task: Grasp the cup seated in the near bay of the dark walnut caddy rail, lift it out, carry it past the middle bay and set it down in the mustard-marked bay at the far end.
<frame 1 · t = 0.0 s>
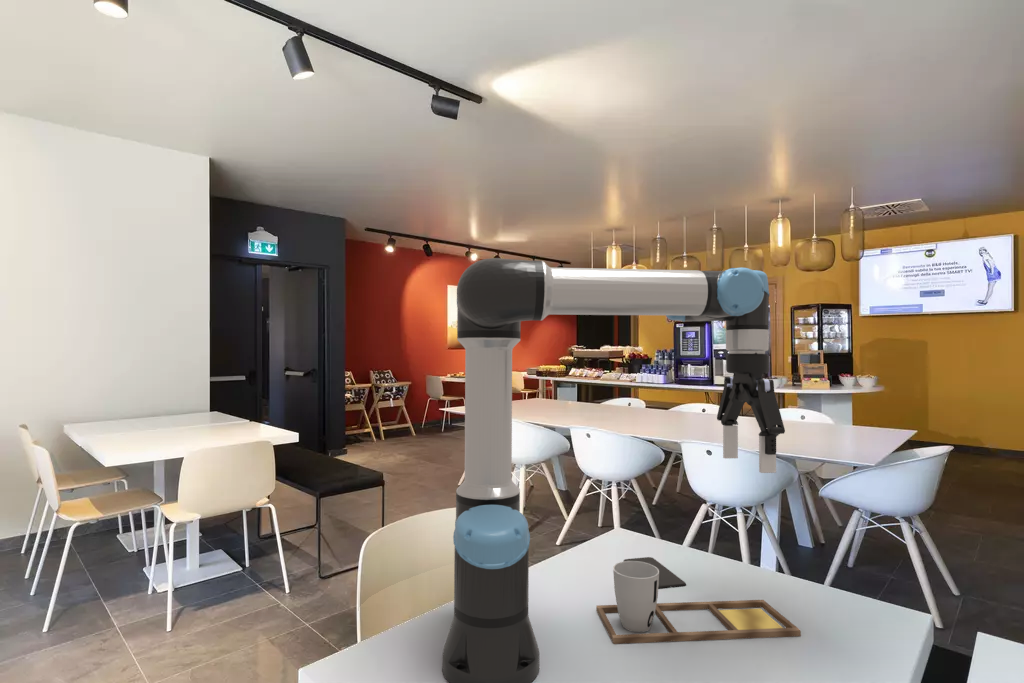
hand: (747, 465, 104), 28 cm above the table, fingers open, 13 cm apart
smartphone: (653, 575, 123), on the table
cup: (635, 626, 99), resting in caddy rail
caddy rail: (693, 622, 100), on the table
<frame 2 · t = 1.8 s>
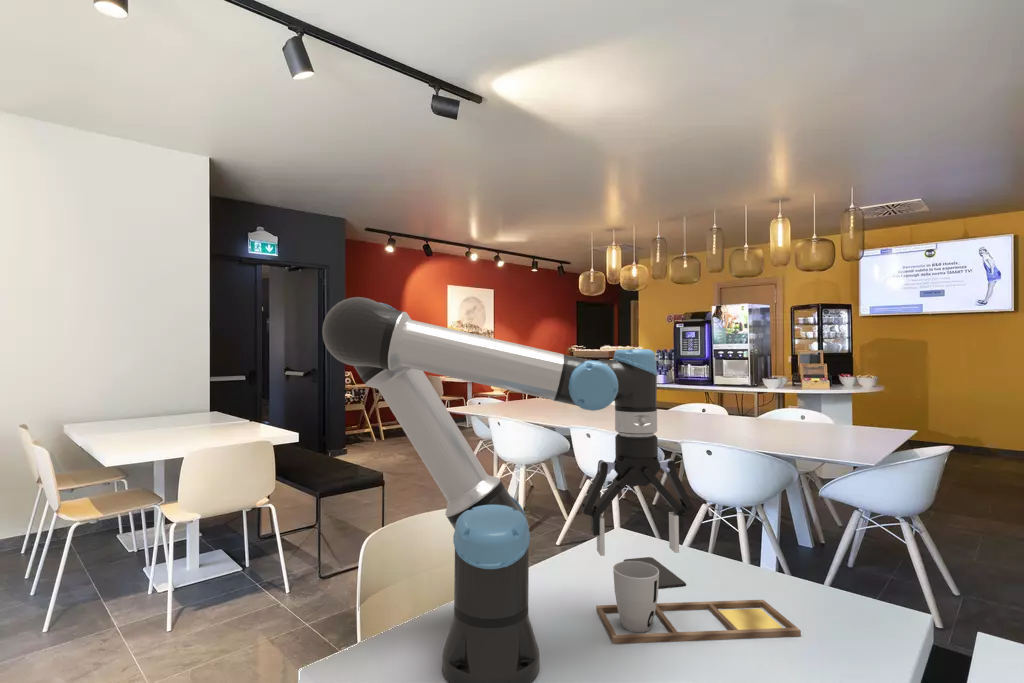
hand: (637, 551, 99), 13 cm above the table, fingers open, 13 cm apart
nothing on the table moved.
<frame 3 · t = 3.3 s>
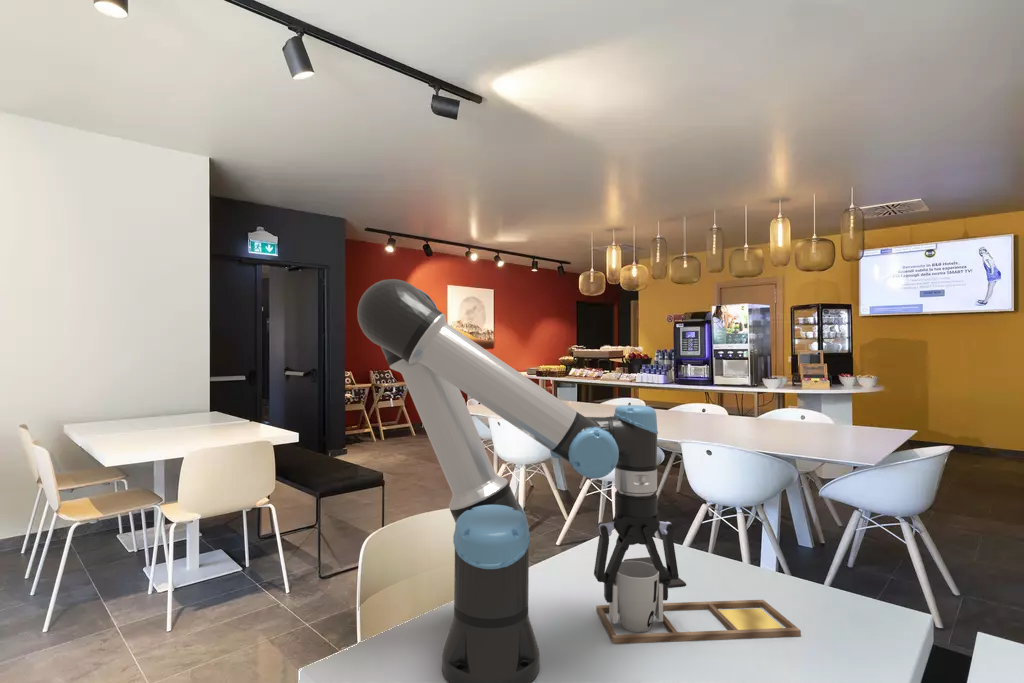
hand: (636, 618, 99), 1 cm above the table, fingers closed on cup, 8 cm apart
cup: (635, 626, 99), resting in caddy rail, touching gripper
everything else where it was.
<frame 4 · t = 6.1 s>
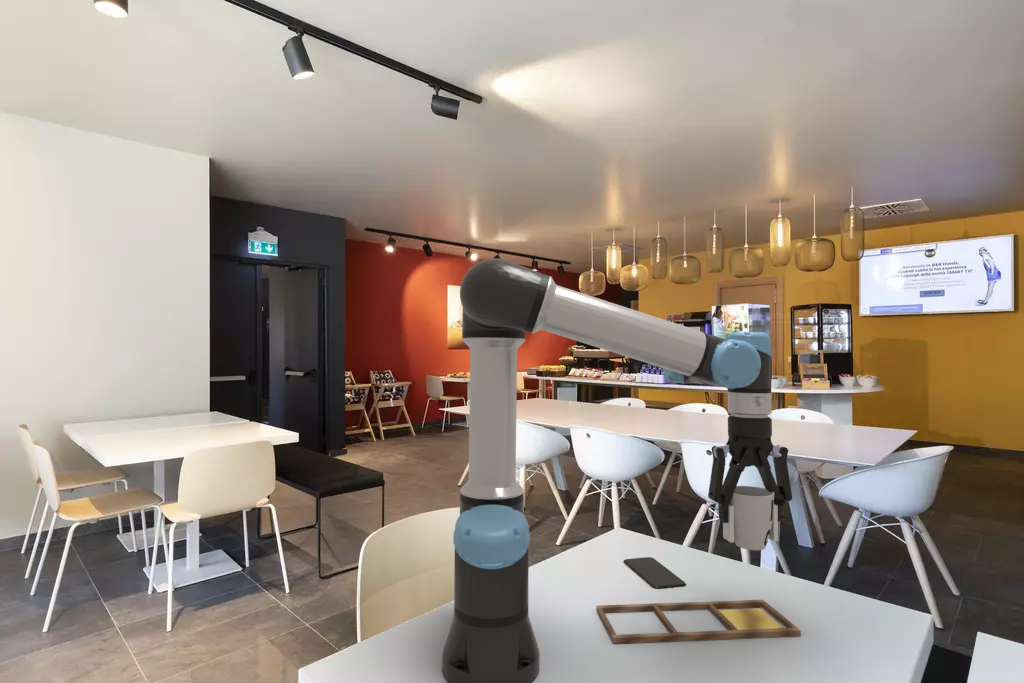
hand: (750, 539, 101), 15 cm above the table, fingers closed on cup, 8 cm apart
cup: (750, 546, 101), point 14 cm above the table, touching gripper
everything else where it was.
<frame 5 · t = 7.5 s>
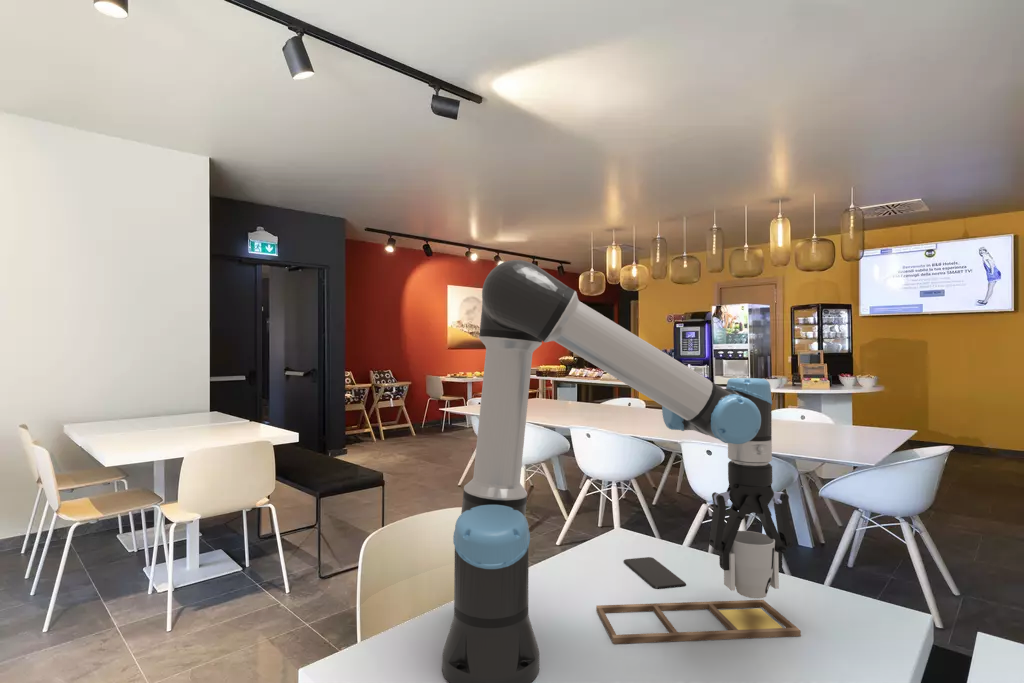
hand: (751, 586, 101), 6 cm above the table, fingers closed on cup, 8 cm apart
cup: (751, 593, 101), point 5 cm above the table, touching gripper
everything else where it was.
when the fingers open (3 cm above the table, at t = 8.7 s): cup drops 1 cm, resting on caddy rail.
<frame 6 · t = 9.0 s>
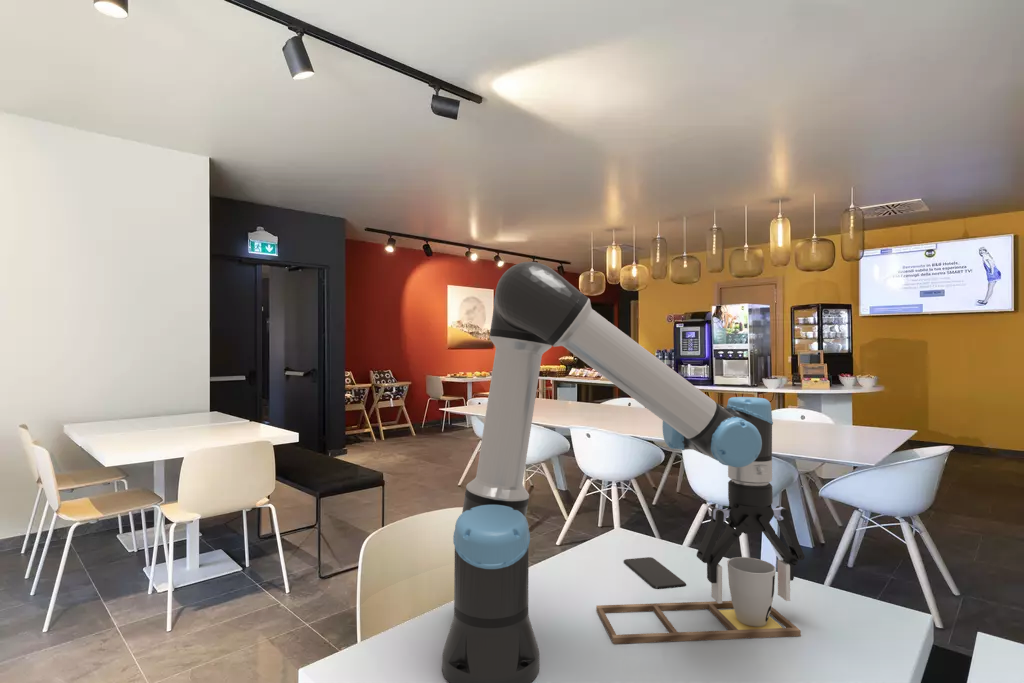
hand: (750, 599, 101), 4 cm above the table, fingers open, 12 cm apart
cup: (751, 621, 101), resting on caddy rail
everything else where it was.
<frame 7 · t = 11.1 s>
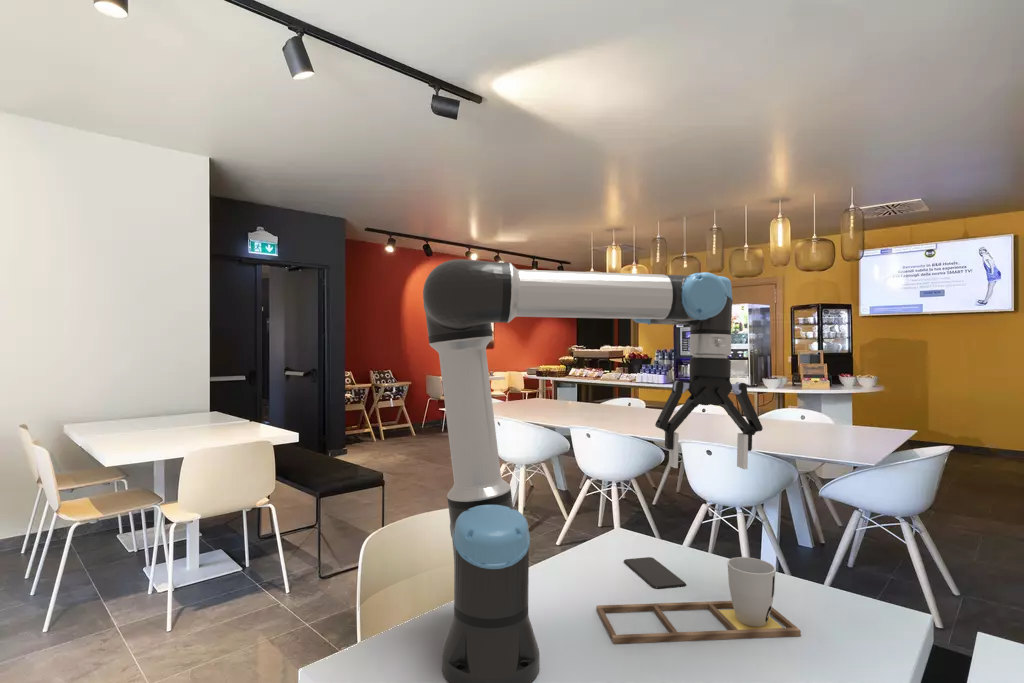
hand: (707, 467, 105), 27 cm above the table, fingers open, 13 cm apart
nothing on the table moved.
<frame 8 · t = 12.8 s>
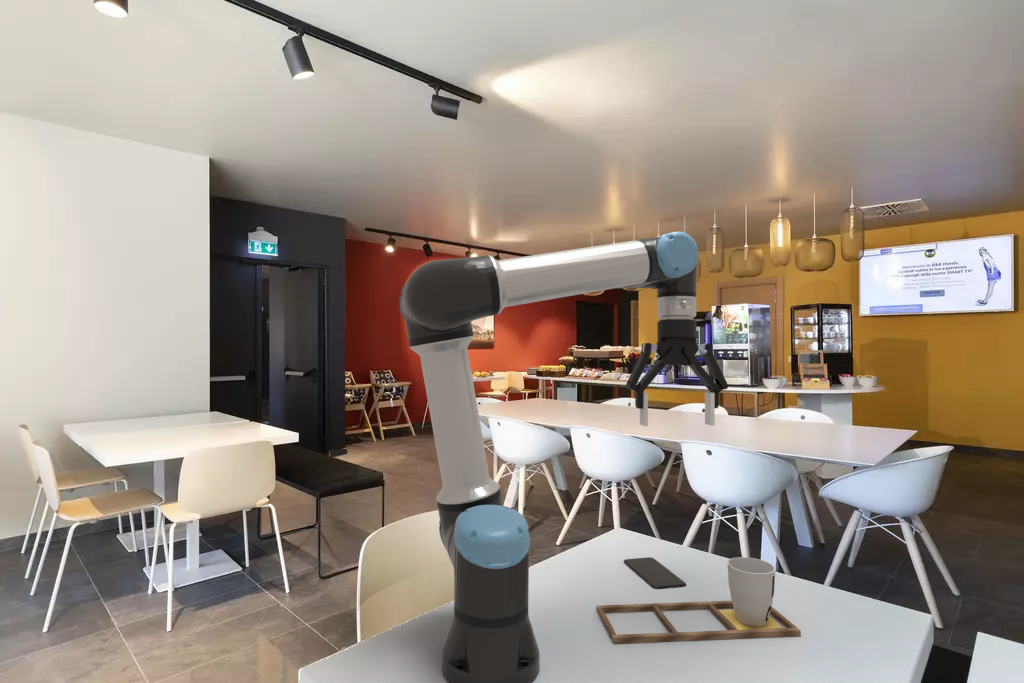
hand: (676, 425, 110), 35 cm above the table, fingers open, 13 cm apart
nothing on the table moved.
at the end: cup inside the target area on the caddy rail (0.1 cm from its centre), point 0.0 cm above the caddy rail's base; cup tilted 0°; the gripper is holding nothing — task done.
